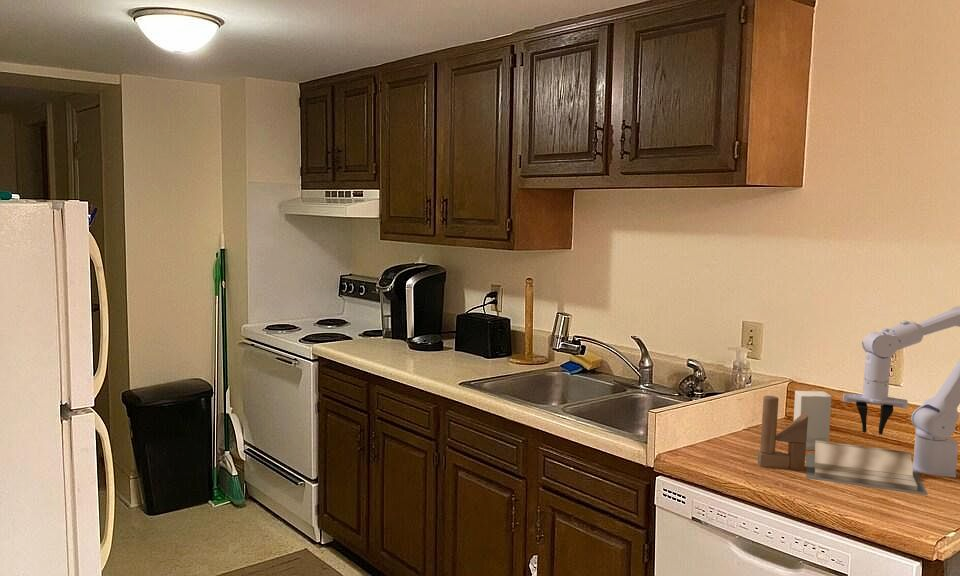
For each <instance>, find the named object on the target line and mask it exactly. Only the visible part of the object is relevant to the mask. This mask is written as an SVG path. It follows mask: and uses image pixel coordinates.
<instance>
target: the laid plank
mask: <svg viewBox="0 0 960 576" xmlns="http://www.w3.org/2000/svg"><path fill="white" fill-rule="evenodd" d="M815 477H819V478H827V479H834V480H841V481H848V482H855V483H862V484H869V485H876V486H883V487H890V488H898V489H905V490H912V491H917V484H916V482H915V479H914V477H913V476H907V475H900V474H892V473H885V472H878V471H870V470H863V469H855V468H848V467H840V466H833V465H826V464H818V463H815Z"/></svg>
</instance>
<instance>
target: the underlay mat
mask: <svg viewBox="0 0 960 576" xmlns="http://www.w3.org/2000/svg"><path fill="white" fill-rule="evenodd" d="M913 477H914V479H915V482H916V484H917V491H912V490H905V489H898V488H890V487H883V486H876V485H869V484H862V483H855V482H848V481H841V480H834V479H827V478H819V477H815V453H814V454H812V453H807V452H806V453H805V478H806V479H808V480H810V479H811V480H816V481H817V480H818V481H822V482H823V481H824V482H830V483H838V484H845V485H851V486H852V485H853V486H859V487H866V488H872V489H873V488H874V489H880V490H888V491H895V492H901V493H908V494H916V495H924V496H929V494H928V492H927V491H926V488H925V486H924V483H923V482H922V480H921V477H920V475H919V473H918V472H913Z"/></svg>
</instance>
